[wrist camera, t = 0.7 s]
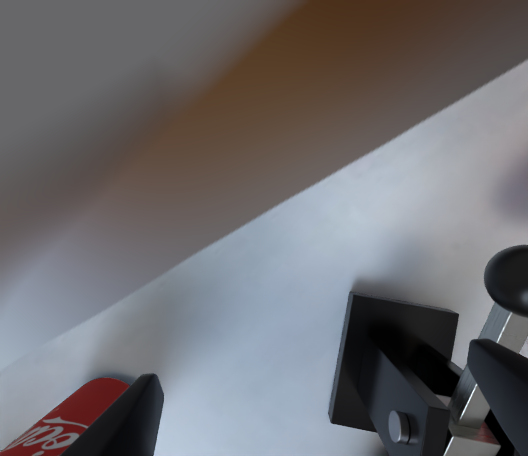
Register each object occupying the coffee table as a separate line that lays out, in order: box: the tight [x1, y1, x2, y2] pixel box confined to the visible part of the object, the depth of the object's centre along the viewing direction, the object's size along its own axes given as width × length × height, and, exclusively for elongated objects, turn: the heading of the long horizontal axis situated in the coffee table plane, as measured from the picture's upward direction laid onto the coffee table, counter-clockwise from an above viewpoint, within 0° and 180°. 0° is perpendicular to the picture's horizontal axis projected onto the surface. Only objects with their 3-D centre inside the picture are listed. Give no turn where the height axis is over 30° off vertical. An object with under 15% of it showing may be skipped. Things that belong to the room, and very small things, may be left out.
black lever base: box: [328, 292, 520, 456], centre depth 18 cm, size 10×8×10 cm
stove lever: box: [436, 245, 528, 456], centre depth 14 cm, size 12×3×3 cm, turn 170°
